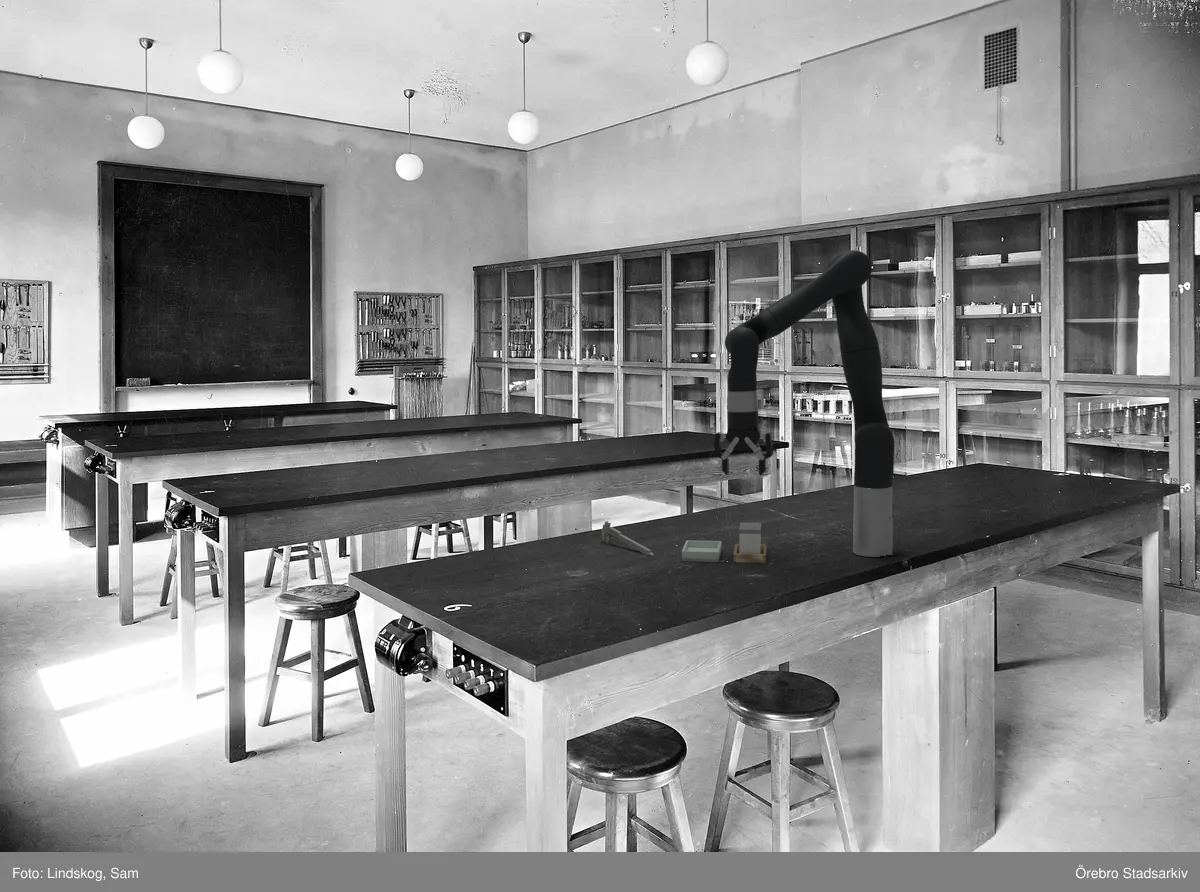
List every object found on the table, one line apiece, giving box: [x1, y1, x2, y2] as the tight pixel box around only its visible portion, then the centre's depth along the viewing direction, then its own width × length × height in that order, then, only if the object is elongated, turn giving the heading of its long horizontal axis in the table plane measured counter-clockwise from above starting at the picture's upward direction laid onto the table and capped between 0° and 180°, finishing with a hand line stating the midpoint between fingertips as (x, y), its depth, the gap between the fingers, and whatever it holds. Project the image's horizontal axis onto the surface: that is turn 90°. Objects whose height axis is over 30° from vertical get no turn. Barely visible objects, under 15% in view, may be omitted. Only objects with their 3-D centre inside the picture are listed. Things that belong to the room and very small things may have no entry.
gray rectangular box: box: [738, 521, 762, 554], centre depth 228 cm, size 5×8×8 cm, turn 169°
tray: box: [681, 539, 722, 563], centre depth 231 cm, size 9×12×2 cm
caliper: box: [601, 520, 655, 557], centre depth 240 cm, size 20×1×6 cm, turn 38°
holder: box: [732, 543, 767, 564], centre depth 229 cm, size 8×11×2 cm
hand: (743, 474), depth 227 cm, fingers open, 8 cm apart
